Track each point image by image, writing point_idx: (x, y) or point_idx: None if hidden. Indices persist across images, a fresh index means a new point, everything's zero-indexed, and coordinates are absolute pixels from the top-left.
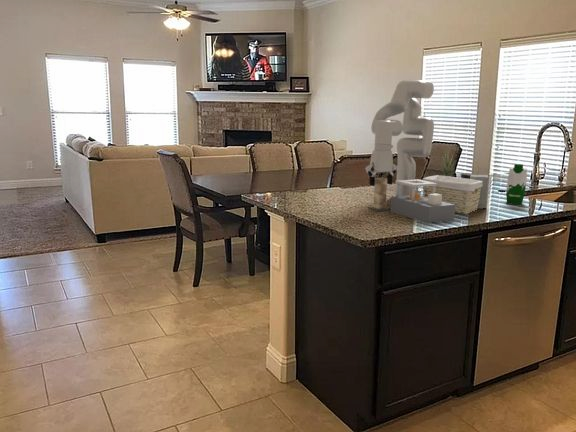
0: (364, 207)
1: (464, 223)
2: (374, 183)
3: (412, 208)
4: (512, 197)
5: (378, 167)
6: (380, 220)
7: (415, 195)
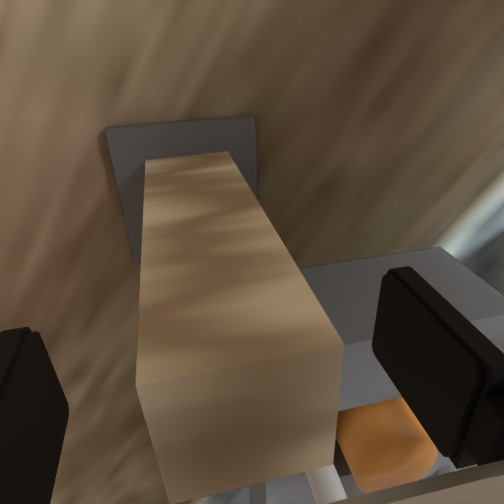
0: (75, 68)
1: None
2: (59, 438)
3: (257, 490)
4: None
5: None
6: None
7: (368, 490)
